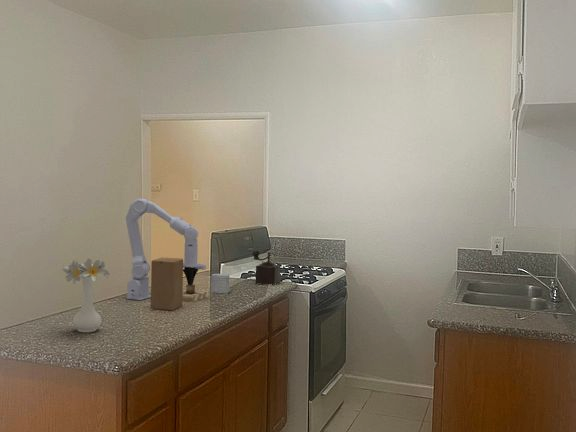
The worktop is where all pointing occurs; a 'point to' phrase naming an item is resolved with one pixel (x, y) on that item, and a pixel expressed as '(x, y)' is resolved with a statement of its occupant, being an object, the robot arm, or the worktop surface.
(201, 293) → the board
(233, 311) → the worktop surface
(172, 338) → the worktop surface
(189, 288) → the peg
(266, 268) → the coffee grinder
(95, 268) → the flower vase
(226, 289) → the medicine box
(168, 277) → the wooden block
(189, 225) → the robot arm
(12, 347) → the worktop surface
